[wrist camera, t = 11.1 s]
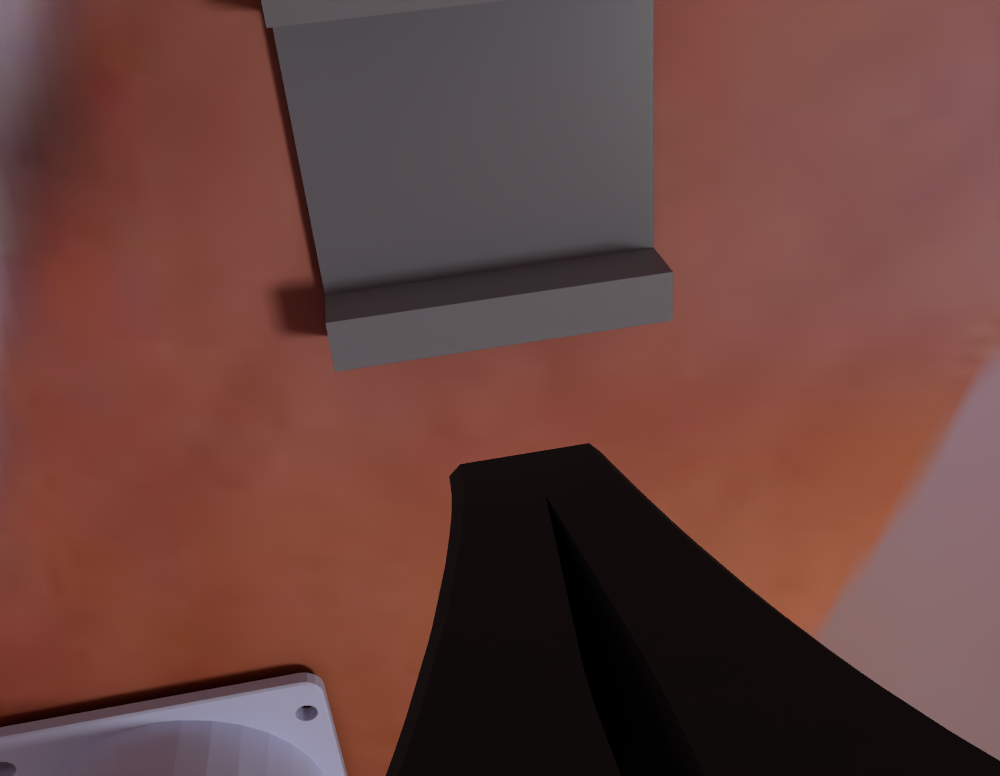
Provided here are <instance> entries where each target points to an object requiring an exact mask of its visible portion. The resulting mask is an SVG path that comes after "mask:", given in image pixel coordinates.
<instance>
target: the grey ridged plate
mask: <svg viewBox="0 0 1000 776" xmlns="http://www.w3.org/2000/svg"><path fill="white" fill-rule="evenodd" d="M261 3H262V8H263V13H264V18H265V23H266V28H272V27H273V33H274V38H275V43H276V48H277V53H278V58H279V63H280V68H281V73H282V78H283V84H284V89H285V94H286V99H287V104H288V109H289V114H290V119H291V124H292V129H293V135H294V140H295V145H296V150H297V155H298V160H299V165H300V170H301V175H302V180H303V186H304V191H305V196H306V201H307V206H308V211H309V216H310V221H311V226H312V231H313V237H314V242H315V247H316V252H317V257H318V262H319V267H320V272H321V277H322V282H323V288H324V293H325V324H326V329H327V334H328V339H329V344H330V349H331V354H332V359H333V364H334V369H335V372H336V371H343V370H349V369H356V368H362V367H369V366H375V365H382V364H389V363H395V362H402V361H408V360H415V359H421V358H428V357H435V356H441V355H448V354H454V353H461V352H467V351H474V350H481V349H487V348H494V347H500V346H507V345H513V344H520V343H527V342H533V341H540V340H546V339H553V338H559V337H566V336H573V335H579V334H586V333H592V332H599V331H605V330H612V329H619V328H625V327H632V326H638V325H645V324H651V323H658V322H665V321H671V320H673V271H672V270H671V269H670V268H669V266H668V265H667V264H666V263H665V261H664V260H663V259H662V258H661V256H660V255H659V254H658V253H657V251H656V250H655V249H654V185H653V0H261Z"/></svg>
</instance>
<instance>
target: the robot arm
mask: <svg viewBox="0 0 1000 776" xmlns="http://www.w3.org/2000/svg"><path fill="white" fill-rule="evenodd" d="M449 477H450V485H451V492H452V515H451V527H450V536H449V543H448V551H447V558H446V564H445V570H444V574H443V579H442V584H441V588H440V593H439V598H438V603H437V607H436V612H435V617H434V622H433V626H432V630H431V634H430V638H429V642H428V645H427V649H426V652H425V655H424V659H423V662H422V666H421V669H420V672H419V676H418V679H417V683H416V686H415V689H414V693H413V696H412V700H411V703H410V706H409V710H408V713H407V716H406V719H405V722H404V726H403V729H402V731H401V734H400V737H399V740H398V743H397V746H396V749H395V752H394V755H393V757H392V760H391V763H390V766H389V768H388V771H387V774H386V776H1000V761H999V760H997V759H996V758H994V757H992V756H991V755H989V754H987V753H986V752H984V751H982V750H981V749H979V748H977V747H975V746H974V745H972V744H970V743H969V742H967V741H965V740H964V739H962V738H960V737H959V736H957V735H955V734H954V733H952V732H951V731H949V730H947V729H946V728H944V727H943V726H941V725H940V724H938V723H937V722H935V721H933V720H932V719H930V718H929V717H927V716H925V715H924V714H923V713H921V712H920V711H918V710H917V709H914V708H913V707H912V706H910V705H909V704H907V703H906V702H904V701H903V700H901V699H900V698H898V697H896V696H895V695H893V694H892V693H890V692H889V691H887V690H886V689H884V688H883V687H881V686H880V685H878V684H877V683H875V682H874V681H873V680H871V679H870V678H868V677H867V676H865V675H864V674H862V673H861V672H860V671H858V670H857V669H855V668H854V667H852V666H851V665H850V664H848V663H847V662H845V661H844V660H843V659H841V658H840V657H839V656H837V655H836V654H834V653H833V652H831V651H830V650H829V649H827V648H826V647H825V646H823V645H822V644H821V643H819V642H818V641H817V640H816V639H814V638H813V637H812V636H810V635H809V634H808V633H806V632H805V631H804V630H802V629H801V628H800V627H798V626H797V625H796V624H794V623H793V622H792V621H790V620H789V619H788V618H786V617H785V616H784V615H783V614H781V613H780V612H779V611H777V610H776V609H775V608H774V607H772V606H771V605H770V604H769V603H767V602H766V601H765V600H764V599H762V598H761V597H760V596H759V595H757V594H756V593H755V592H754V591H752V590H751V589H750V588H749V587H747V586H746V585H745V584H744V583H743V582H742V581H740V580H739V579H738V578H737V577H736V576H734V575H733V574H732V573H731V572H730V571H729V570H727V569H726V568H725V567H724V566H723V565H722V564H720V563H719V562H718V561H717V560H716V559H715V558H713V557H712V556H711V555H710V554H709V553H707V552H706V551H705V550H704V549H703V548H702V547H700V546H699V545H698V544H697V543H696V542H695V541H694V540H692V539H691V538H690V537H689V536H688V535H687V534H686V533H685V532H683V531H682V530H681V529H680V528H679V527H678V526H677V525H676V524H675V523H674V522H672V521H671V520H670V519H669V518H668V517H667V516H666V515H665V514H664V513H663V512H662V511H661V510H660V509H658V508H657V507H656V506H655V505H654V504H653V503H652V502H651V501H650V500H649V499H648V498H647V497H646V496H645V495H644V494H643V493H642V492H641V491H639V490H638V489H637V488H636V487H635V486H634V485H633V484H632V483H631V482H630V481H629V480H628V479H627V478H626V477H625V476H624V475H623V474H622V473H621V472H620V471H619V470H618V469H617V468H616V467H615V466H614V465H613V464H612V463H611V462H610V461H609V460H608V459H607V458H606V457H605V456H604V455H603V454H602V453H601V452H600V451H599V450H597V449H596V448H595V447H593V446H592V445H591V444H589V443H587V444H581V445H575V446H569V447H563V448H557V449H551V450H545V451H539V452H532V453H526V454H520V455H514V456H508V457H502V458H496V459H490V460H484V461H477V462H471V463H465V464H460V465H459V466H458V467H457V469H456V470H455V471H454V472H453V473H452V474H451V475H450V476H449ZM302 706H313V707H310V708H302ZM5 762H8V763H5ZM0 776H347V772H346V768H345V764H344V760H343V757H342V753H341V749H340V745H339V741H338V737H337V733H336V729H335V725H334V721H333V718H332V714H331V710H330V706H329V702H328V698H327V694H326V690H325V686H324V683H323V681H322V680H321V678H319V677H318V676H316V675H315V674H311V673H296V674H290V675H285V676H279V677H274V678H268V679H263V680H257V681H252V682H246V683H241V684H235V685H230V686H225V687H219V688H214V689H208V690H203V691H197V692H192V693H186V694H181V695H175V696H170V697H164V698H159V699H153V700H148V701H142V702H137V703H131V704H126V705H120V706H115V707H109V708H104V709H98V710H93V711H87V712H82V713H76V714H71V715H65V716H60V717H54V718H49V719H43V720H38V721H32V722H27V723H21V724H16V725H10V726H5V727H0Z"/></svg>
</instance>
